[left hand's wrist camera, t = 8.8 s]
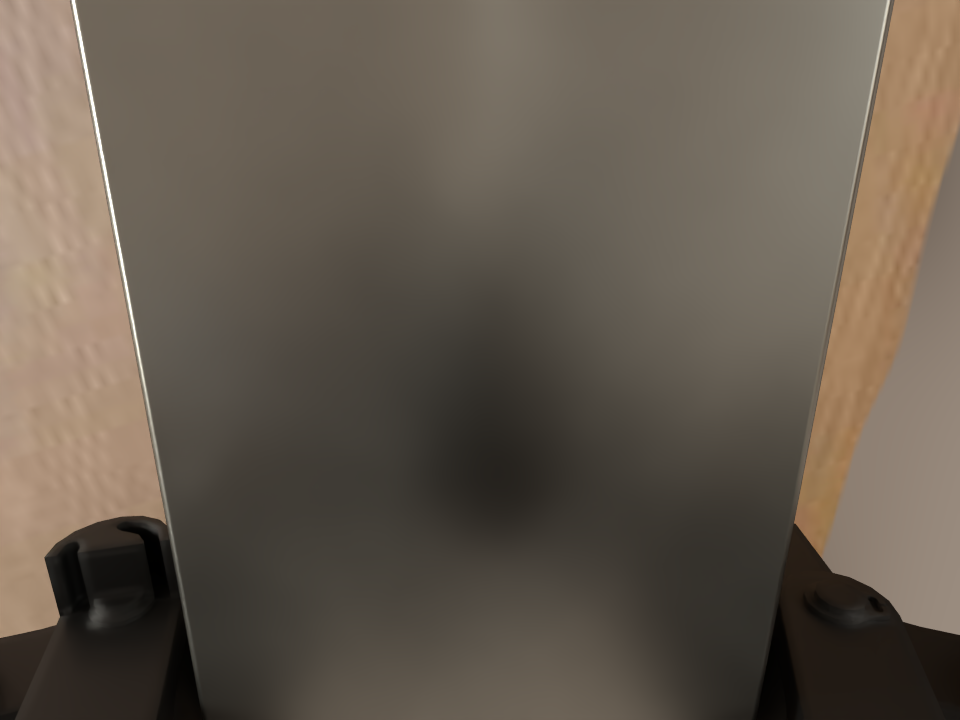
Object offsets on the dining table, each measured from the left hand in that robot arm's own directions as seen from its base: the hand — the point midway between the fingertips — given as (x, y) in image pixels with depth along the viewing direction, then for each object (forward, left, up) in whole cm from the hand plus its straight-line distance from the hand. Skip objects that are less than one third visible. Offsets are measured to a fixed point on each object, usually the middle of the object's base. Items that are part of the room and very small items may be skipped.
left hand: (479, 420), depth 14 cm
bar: (+9, +2, -1) cm, 10 cm away
